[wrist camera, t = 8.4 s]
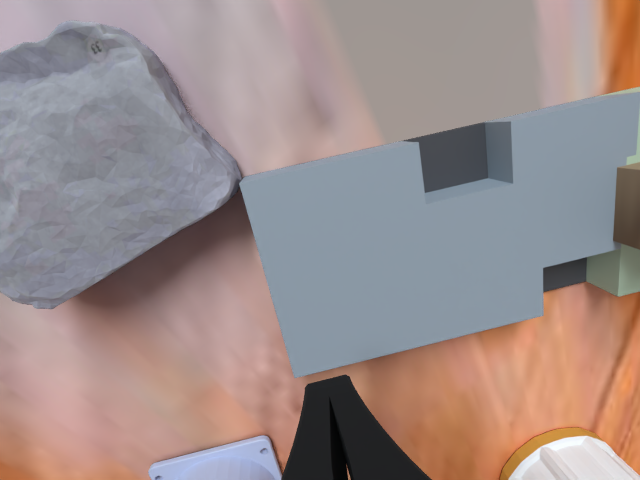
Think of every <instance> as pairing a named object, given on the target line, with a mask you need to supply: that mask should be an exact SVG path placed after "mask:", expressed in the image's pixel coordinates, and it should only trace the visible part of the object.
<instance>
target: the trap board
mask: <svg viewBox="0 0 640 480" xmlns="http://www.w3.org/2000/svg"><path fill="white" fill-rule="evenodd" d="M638 162H640V87H636V88H632V89H627V90H623V91H619V92H614V93H610V94H605V95H601V96H597V97H592V98H588V99H583V100H579V101H575V102H570V103H566V104H562V105H557V106H553V107H548V108H544V109H540V110H535V111H531V112H526V113H522V114H518V115H513V116H509V117H504V118H500V119H496V120H492V121H487V122H483V123H478V124H474V125H469V126H465V127H461V128H456V129H452V130H448V131H443V132H439V133H435V134H430V135H426V136H421V137H417V138H412V139H408V140H404V141H399V142H395V143H390V144H386V145H382V146H377V147H373V148H368V149H364V150H360V151H355V152H351V153H346V154H342V155H338V156H333V157H329V158H325V159H320V160H316V161H311V162H307V163H303V164H298V165H294V166H289V167H285V168H281V169H276V170H272V171H267V172H263V173H259V174H254V175H250V176H246V177H244V178H243V179H242V180H241V182H240V183H239V185H240V188H241V192H242V195H243V199H244V202H245V206H246V209H247V213H248V216H249V220H250V223H251V227H252V230H253V234H254V237H255V241H256V244H257V248H258V251H259V255H260V258H261V262H262V265H263V269H264V272H265V276H266V279H267V283H268V286H269V290H270V293H271V297H272V300H273V304H274V307H275V311H276V314H277V318H278V321H279V325H280V328H281V332H282V336H283V339H284V343H285V346H286V350H287V353H288V357H289V360H290V364H291V367H292V371H293V374H294V378H297V377H301V376H305V375H309V374H313V373H317V372H321V371H325V370H329V369H333V368H337V367H341V366H345V365H349V364H353V363H357V362H361V361H365V360H369V359H373V358H377V357H381V356H385V355H389V354H393V353H397V352H401V351H405V350H409V349H413V348H417V347H421V346H424V345H428V344H432V343H436V342H440V341H444V340H448V339H452V338H456V337H460V336H464V335H468V334H472V333H476V332H480V331H484V330H488V329H492V328H496V327H500V326H504V325H508V324H512V323H516V322H520V321H524V320H528V319H532V318H536V317H540V316H543V292H545V291H549V290H553V289H557V288H561V287H565V286H569V285H573V284H577V283H581V282H585V281H587V282H589V283H591V284H593V285H595V286H597V287H599V288H601V289H603V290H605V291H607V292H609V293H611V294H613V295H615V296H617V297H619V296H623V295H627V294H631V293H635V292H639V291H640V250H639V249H636V248H633V247H630V246H627V245H624V244H621V243H618V242H615V241H613V231H614V213H615V195H616V177H617V167H621V166H625V165H630V164H634V163H638Z"/></svg>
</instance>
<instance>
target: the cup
mask: <svg viewBox="0 0 640 480" xmlns="http://www.w3.org/2000/svg"><path fill="white" fill-rule="evenodd" d="M500 480H640V476H639V475H638V474H637V473H636V472H635V471H634V470H633V469H632V468H631V467H630V466H628V465H627V464H626V463H625V462H624V461H623V460H622V459H621V458H620V457H619V456H618V455H616V453H615V452H614V451H613V450H612V449H611V448H610V447H609V446H608V445H607V444H606V443H605V442H604V441H603V440H602V439H601V438H600V437H599V436H598V435H597V434H595V433H593V432H590V431H588V430H585V429H582V428H579V427H577V428H562V429H555V430H552V431H549V432H546V433H543V434H541V435H538V436H536V437H533V438H532V439H531V440H529V441H528V442H527V443H525V444H524V445H523V446H521V447H520V448H519V449H518V450H517V451H515V453H514V454H513V455H512V456H511V458H510V459H509V460H508V462H507V463H506V464H505V466H504V467H503V469H502V472H501V476H500Z"/></svg>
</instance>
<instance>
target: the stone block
mask: <svg viewBox="0 0 640 480" xmlns="http://www.w3.org/2000/svg"><path fill="white" fill-rule="evenodd" d="M241 180H242V178H241V174H240V171H239V169H238V166H237V162H236V160H235V159H234V158H233V157H232V156H231V155H230V154H229V153H228V152H227V151H226V150H225V149H224V148H223V147H221V146H220V144H219V143H218V142H217V141H216V140H214V139H213V138H212V137H211V136H210V135H209V134H208V132H207V131H206V130H205V129H204V128H203V127H202V126H201V125H200V124H198V123H197V122H195V121H194V120H193V119H192V117H191V116H190V115H189V113H188V112H187V110H186V108H185V106H184V103H183V101H182V99H181V97H180V95H179V92H178V89H177V87H176V85H175V84H174V82H173V81H172V79H171V78H170V76H169V75H168V74H167V72H166V70H165V68H164V66H163V64H162V62H161V61H160V59H159V57H158V56H157V55H156V54H155V53H154V52H153V51H152V50H150V49H149V48H148V47H147V46H146V45H144V44H142V43H141V42H140V41H139V40H138V39H137V38H136V37H134V36H133V35H132V34H130V33H128V32H126V31H124V30H123V29H121V28H115V27H111V26H107V25H102V24H98V23H95V22H79V21H66V22H64V23H61V24H59V25H58V26H57V27H56V29H55V30H54V31H53V32H52V33H51V34H50V35H49V36H48V38H46V39H43V40H41V41H38V42H27V43H21V44H19V45H16V46H14V47H13V48H11V49H9V50H6V51H3V52H1V53H0V292H1V293H3V294H4V295H6V296H7V297H9V298H10V299H11V300H12V301H15V302H18V303H22V304H27V305H33V307H34V308H36V309H54V308H55V307H56V306H58V305H59V304H61V303H63V302H65V301H67V300H69V299H70V298H72V297H74V296H75V295H77V294H79V293H81V292H82V291H84V290H86V289H87V288H89V287H90V286H92V285H94V284H95V283H97V282H99V281H100V280H102V279H104V278H105V277H107V276H109V275H110V274H112V273H113V272H115V271H116V270H118V269H119V268H121V267H123V266H124V265H126V264H127V263H129V262H130V261H132V260H133V259H135V258H137V257H138V256H140V255H141V254H143V253H144V252H146V251H147V250H149V249H150V248H152V247H154V246H155V245H157V244H159V243H160V242H162V241H164V240H165V239H167V238H169V237H171V236H172V235H174V234H176V233H177V232H179V231H180V230H182V229H184V228H186V227H188V226H190V225H192V224H194V223H196V222H198V221H200V220H201V219H203V218H204V217H205V216H207V215H209V214H211V213H212V212H214V211H215V210H217V209H218V208H219V207H221V206H222V205H223V204H225V203H226V202H227V201H228V200H229V199H230V198H232V197H233V196H234V194H235V193H236V192H237V191H238V189H239V186H240V185H239V183H240V182H241Z"/></svg>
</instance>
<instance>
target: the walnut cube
mask: <svg viewBox="0 0 640 480" xmlns="http://www.w3.org/2000/svg"><path fill="white" fill-rule="evenodd" d="M613 241H615V242H618V243H621V244H624V245H627V246H630V247H633V248H636V249H639V250H640V162H638V163H634V164H630V165H625V166H621V167H617V177H616V195H615V213H614V231H613Z"/></svg>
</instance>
